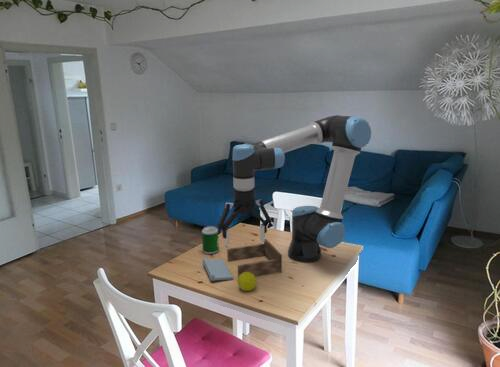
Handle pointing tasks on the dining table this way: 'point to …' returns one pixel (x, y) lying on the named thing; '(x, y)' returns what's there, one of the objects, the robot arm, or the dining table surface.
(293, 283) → the dining table surface
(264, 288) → the dining table surface
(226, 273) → the blue-grey book
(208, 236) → the soda can
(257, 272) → the crate
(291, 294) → the dining table surface
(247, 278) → the tennis ball
